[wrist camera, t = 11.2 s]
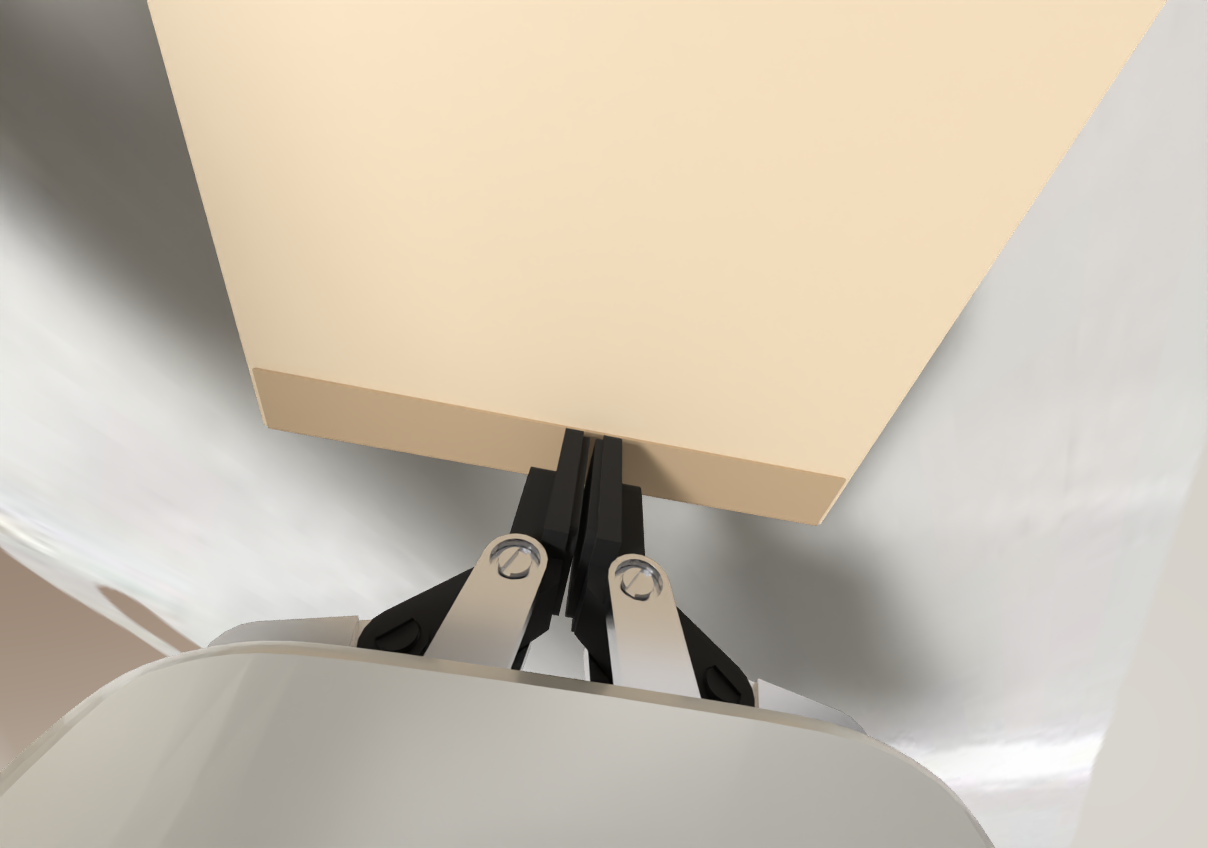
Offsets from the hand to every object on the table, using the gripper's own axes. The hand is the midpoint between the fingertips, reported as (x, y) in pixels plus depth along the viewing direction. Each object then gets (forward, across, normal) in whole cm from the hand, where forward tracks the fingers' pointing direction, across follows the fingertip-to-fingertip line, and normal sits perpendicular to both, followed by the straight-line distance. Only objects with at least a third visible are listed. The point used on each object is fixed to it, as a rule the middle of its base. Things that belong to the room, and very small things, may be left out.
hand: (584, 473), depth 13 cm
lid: (+1, +1, -6) cm, 6 cm away
